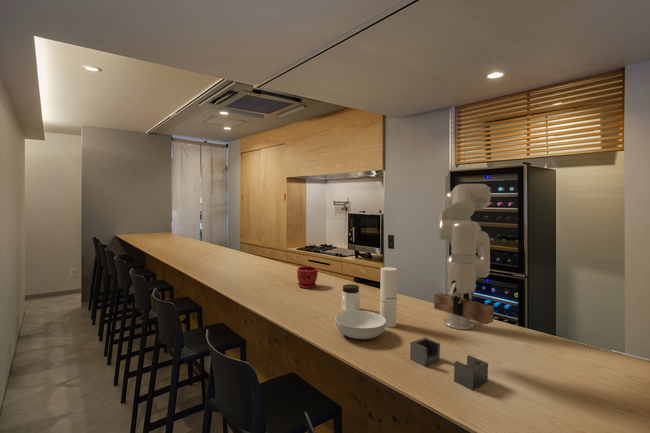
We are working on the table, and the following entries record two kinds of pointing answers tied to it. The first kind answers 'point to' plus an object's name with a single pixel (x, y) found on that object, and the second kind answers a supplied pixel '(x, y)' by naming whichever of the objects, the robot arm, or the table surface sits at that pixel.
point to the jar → (350, 298)
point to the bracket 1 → (424, 351)
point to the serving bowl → (360, 324)
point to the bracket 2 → (471, 373)
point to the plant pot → (307, 276)
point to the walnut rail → (465, 308)
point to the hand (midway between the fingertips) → (461, 312)
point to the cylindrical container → (388, 295)
